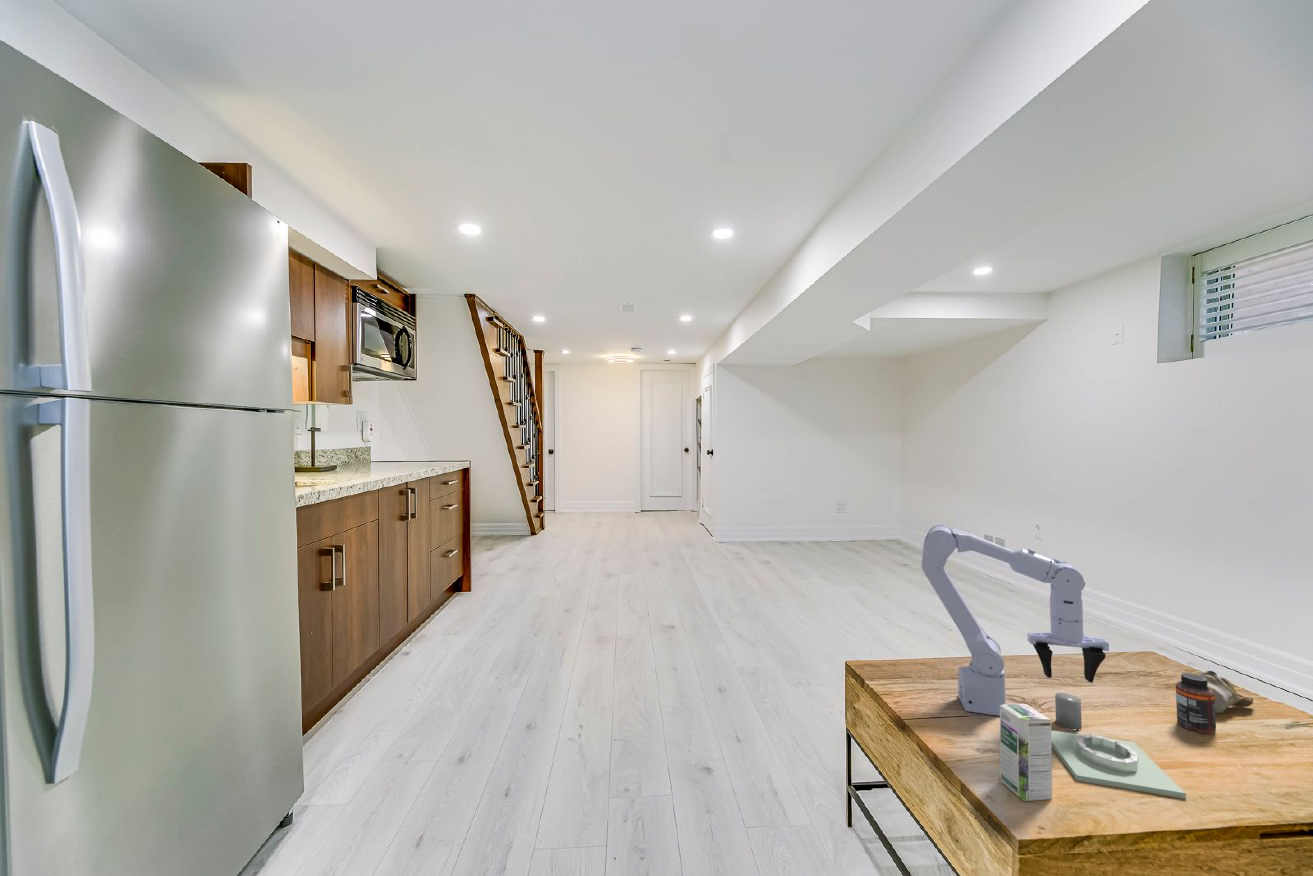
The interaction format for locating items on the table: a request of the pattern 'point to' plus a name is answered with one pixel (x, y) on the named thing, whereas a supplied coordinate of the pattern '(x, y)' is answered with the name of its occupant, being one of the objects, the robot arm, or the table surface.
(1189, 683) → the supplement bottle
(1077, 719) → the grey rounded block
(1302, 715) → the table surface
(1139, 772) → the plate
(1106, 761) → the duct collar
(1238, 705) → the ceramic sculpture
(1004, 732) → the syrup box
